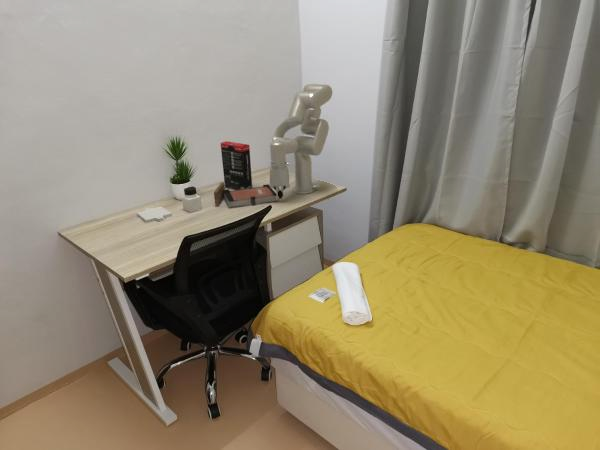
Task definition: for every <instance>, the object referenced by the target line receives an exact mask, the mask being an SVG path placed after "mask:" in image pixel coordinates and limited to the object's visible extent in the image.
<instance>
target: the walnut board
mask: <svg viewBox="0 0 600 450" xmlns="http://www.w3.org/2000/svg"><path fill="white" fill-rule="evenodd" d="M223 190H226V187H225V182H224V181H221V182H220V183H219V184H218V186H217V187H216V189H215V190H214V192H213V197H214V206H215V208H217V207H220V205H221V203H222V202H223V201H224V200H225V199H224V195H223Z"/></svg>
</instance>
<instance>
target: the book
mask: <svg viewBox="0 0 600 450" xmlns="http://www.w3.org/2000/svg"><path fill="white" fill-rule="evenodd" d="M223 195H224V199H223V200H224V201H225V203H226V205H227V207H228V209H236V208H242V207H249V206H256V205H264V204H272V203H277V202H278V200H277V197H278V195H277V192H276V191H275V190H274V189H273V188H270V183H269V184H263V186H258V187H252V188H249V189H241V190H236V189H233V190H230V188H228V189H225V190H223Z"/></svg>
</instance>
